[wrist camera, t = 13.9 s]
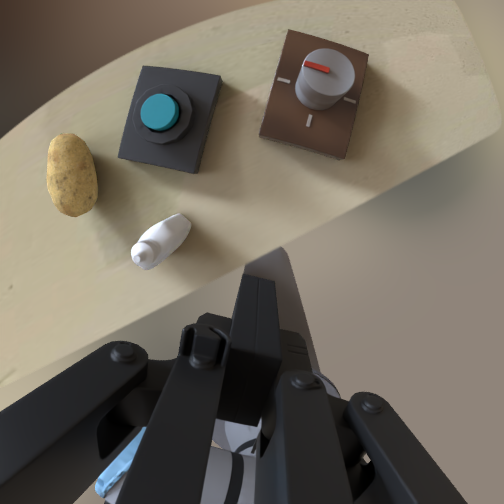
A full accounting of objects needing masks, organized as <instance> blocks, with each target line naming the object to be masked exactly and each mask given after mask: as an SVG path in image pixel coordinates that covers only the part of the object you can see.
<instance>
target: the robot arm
mask: <svg viewBox="0 0 504 504" xmlns="http://www.w3.org/2000/svg"><path fill="white" fill-rule="evenodd" d="M216 419H219V420H224V421H225V432H226V436H227V439H228V442H229V445H230V448H231V451H232V452H231V451H228V450H224V449H220V448H216V447H213V446H211V442H212V437H213V432H214V426H215V421H216ZM366 453H367V455H368V457H369V458H370V460H371V461H370V462H369V463H366V462H365V460H364V459H363V457H364V455H365V454H366ZM98 477H99V478H98ZM97 478H98V480H97V482H96V485H95V490H96V492H97V493H98V494H99V495H100V497H102V498H106V499H105V503H104V504H467V502H466V501H465V500H464V498H463V497H462V496H461V494H460V493H459V492H458V491H457V490H456V488H455V487H454V485H453V484H452V483H451V482H450V480H449V479H448V478H447V477H446V475H445V474H444V473H443V472H442V470H441V469H440V468H439V466H438V465H437V464H436V462H435V461H434V460H433V459H432V457H431V456H430V455H429V454H428V452H427V451H426V450H425V448H424V447H423V446H422V445H421V443H420V442H419V441H418V440H417V438H416V437H415V436H414V435H413V433H412V432H411V431H410V429H409V428H408V427H407V426H406V425H405V423H404V422H403V421H402V420H401V418H400V417H399V416H398V414H397V413H396V412H395V411H394V409H393V408H392V407H391V406H390V404H389V403H388V402H387V401H386V400H384V399H383V398H382V397H380V396H378V395H376V394H373V393H370V392H358V393H355V394H354V395H353V396H352V397H351V399H350V401H346V400H343V399H340V398H337V397H334V396H332V395H330V394H328V393H327V391H326V387H325V385H324V383H323V381H322V380H321V379H320V378H319V377H318V376H316V375H314V374H313V372H312V368H311V363H310V359H309V356H308V350H307V346H306V342H305V340H304V339H303V337H302V336H301V335H300V334H299V333H297V332H292V331H288V330H283V329H280V328H279V318H278V308H277V298H276V289H275V281H271V280H267V279H263V278H259V277H255V276H251V275H247V274H243V275H242V279H241V283H240V287H239V292H238V295H237V299H236V303H235V307H234V311H233V315H232V319H231V318H227V317H223V316H218V315H215V314H210V313H205V314H204V315H202V316H200V317H199V318H198V320H197V323H196V324H191V325H187V326H186V327H185V328H184V329H183V330H182V335H181V341H180V347H179V354H178V356H177V358H175V359H172V360H163V361H162V360H160V361H159V360H150V359H148V354H147V352H146V351H145V350H144V349H143V348H141V347H140V346H139V345H137V344H134V343H131V342H127V341H113V342H110V343H107V344H105V345H103V346H102V347H100V348H99V349H97V350H95V351H94V352H92V353H91V354H89V355H88V356H86V357H85V358H83V359H81V360H80V361H79V362H77V363H75V364H74V365H72V366H71V367H69V368H67V369H66V370H64V371H63V372H61V373H60V374H58V375H57V376H55V377H53V378H52V379H50V380H49V381H47V382H46V383H44V384H43V385H41V386H39V387H38V388H36V389H35V390H33V391H32V392H30V393H29V394H27V395H26V396H24V397H22V398H21V399H19V400H18V401H16V402H15V403H13V404H12V405H10V406H9V407H7V408H5V409H4V410H2V411H1V412H0V504H73V503H74V502H75V501H76V500H77V499H78V498H79V497H80V496H81V495H82V494H83V493H84V491H86V489H87V488H88V487H89V486H90V485H91V484H92V483H93V482H94V481H95V480H96V479H97Z"/></svg>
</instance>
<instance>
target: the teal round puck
mask: <svg viewBox="0 0 504 504" xmlns="http://www.w3.org/2000/svg"><path fill="white" fill-rule="evenodd" d="M178 117H179V107H178V104H177V103H176V102H175V101H174V100H173V99H172V98H171V97H169V96H168V95H165V94H156V95H153V96H151V97H149V98H148V99H147V100H146V101H145V102H144V104H143V106H142V108H141V119H142V121H143V123H144V124H145V125H146V126H147V127H149V128H152V129H154V130H158V131H163V130H167V129H169V128H171V127H172V126H173V125H174V124H175V123H176V121H177V119H178Z"/></svg>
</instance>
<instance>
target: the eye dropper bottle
mask: <svg viewBox="0 0 504 504" xmlns="http://www.w3.org/2000/svg"><path fill="white" fill-rule="evenodd" d="M190 227H191V223H190V221H189V220H188V219H187V218H185V217H184V216H183V215H182V214H180V213H178V214H175V215H173V216H171V217H169V218H167V219H165V220H163V221H161V222H159V223H157V224H155V225H154V226H152V227H151V228H149V229H148V230H147V231H146V232H145V233H144V234H143V235H142V236H141V238H140V239H139V241H138V243H136V244H135V245H134V246H133V247H132V251H131V256H132V260H133V261H134V262H135V264H137V265H138V266H140V267H141V268H142V269H144V270H149V269H151V268H154V267H155V266H157V265H158V264H160V263H161V262H162V261H163V260H165V259H166V258H167V257H168V256H169V255H170V254H171V253H172V252H173V251H175V250H176V249H177V248H178V247H179V246H180V245H181V244H182V243H183V241H184V240H185V239H186V237H187V235H188V233H189V231H190Z"/></svg>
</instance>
